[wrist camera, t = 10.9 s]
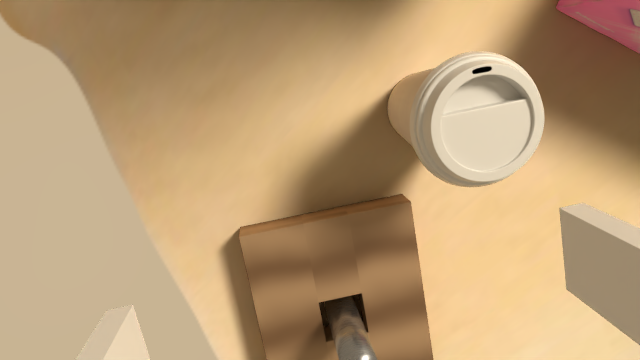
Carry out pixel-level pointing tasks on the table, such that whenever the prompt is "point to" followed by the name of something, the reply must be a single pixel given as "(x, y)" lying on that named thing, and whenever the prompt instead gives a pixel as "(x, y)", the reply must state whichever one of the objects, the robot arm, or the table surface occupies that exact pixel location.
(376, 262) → the hole board
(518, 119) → the coffee cup
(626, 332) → the robot arm
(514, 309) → the table surface
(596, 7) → the gum box
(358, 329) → the pin
